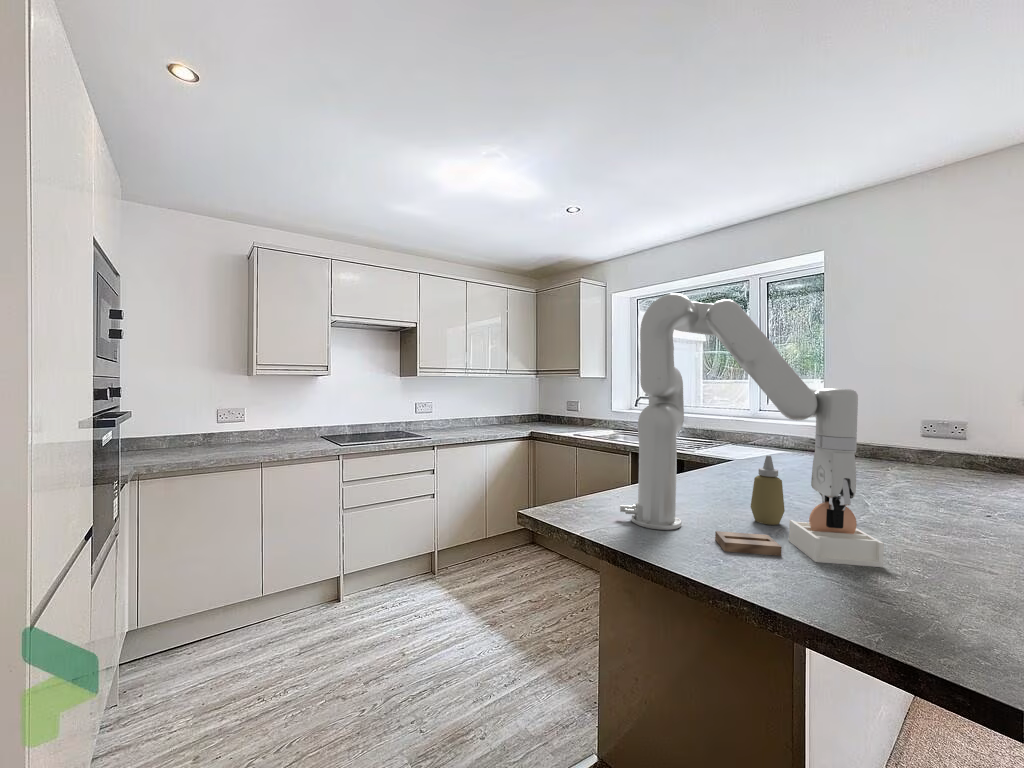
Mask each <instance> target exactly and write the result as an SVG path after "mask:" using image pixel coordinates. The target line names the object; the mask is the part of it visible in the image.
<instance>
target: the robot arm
mask: <svg viewBox="0 0 1024 768" xmlns="http://www.w3.org/2000/svg"><path fill="white" fill-rule="evenodd" d="M639 330H640V331H639V336H640V337H639V343H640V344H639V345H640V346H639V347H640V349H639V351H640V353H639V355H640V356H639V357H640V358H639V359H640V360H639V361H640V362H639V363H640V369H639V370H640V375H639V377H640V378H639V379H640V381H639V382H640V383H639V384H640V387H641V389H642V392H644V394H646V395H647V396H648V405H646V407H644V408H643V409H642V411H640V413H639V416H638V418H637V419H638V420H637V435H638V491H637V492H638V494H637V496H638V497H637V501H635V504H631V505H627V504H620V505H619V512H620V513H625V514H626V515H631V521H632V523H634V524H635V525H637V526H639V527H642V528H646V529H652V530H659V531H663V530H664V531H665V530H666V531H669V530H677V529H678V528H679V529H680V528H681V527H682V520H681V519H680V518H679V517H677V516H676V509H677V508H676V507H677V505H676V504H677V503H676V499H677V472H678V471H677V467H678V466H677V460H678V458H677V457H678V455H677V453H678V452H677V449H678V448H677V447H678V445H677V433H679V431H680V430H681V429H682V427H683V425H684V420H685V412H684V411H685V409H684V408H685V407H684V381H683V376H682V373H681V372H680V370H679V369H678V368H677V367H676V366H675V355H674V354H675V346H674V330H675V331H677V332H678V331H679V332H682V333H683V332H685V333H690V334H698V335H705V336H711V337H712V336H713V337H716V339H718V340H719V341H720V343H721V344H722V345H723V347H724V348H725V349H726V350H727V352H728V353H729V354H730V355H731V356H732V358H733V359H734V360H735V361H736V362H737V364H738V365H739V366H740V368H742V369H743V371H744V373H747V374H748V376H750V377H751V379H753V381H754V382H755V383H756V384H757V386H758V387H759V388H760V389H761V391H762V392H763V393H764V394H765V396H767V398H768V400H770V402H771V403H772V404H773V405H774V406H775V407H776V409H777V410H778V411H779V412H780V414H782V416H784V417H785V418H786V419H789V420H792V421H806V420H807V419H809V418H810V419H811V418H815V436H814V438H815V439H814V449H815V450H814V455H813V459H812V470H811V480H810V486H811V488H812V489H813V490H814V491H816V492H818V494H819V495H820V496H821V503H823V502H829V509H827V518H826V526H827V527H829V528H843V521H844V511H845V506H846V507H848V506H851V504H852V502H851V499H853V498H855V497H856V492H857V465H856V464H857V463H856V457H855V454H856V453H857V447H858V446H857V442H858V441H857V439H858V438H857V437H858V433H857V432H858V416H859V415H858V413H859V412H858V411H859V409H858V407H859V395H858V393H857V391H856V390H854V389H851V388H834V387H833V388H820V389H817V388H811V387H810V388H809V386H808V385H807V384H806V383H805V382H804V381H803V379H802V378H801V377H800V376H799V375H798V374H797V373H796V371H795V370H794V369H793V368H792V367H791V366H790V364H789V363H788V362H787V361H786V360H785V359H784V358H783V356H782V355H781V353H780V352H779V350H778V349H777V347H776V346H775V345H774V343H773V342H772V341H771V340H770V339H769V338H768V337H767V336H766V334H765V333H764V332H763V331H762V330H761V328H759V326H758V325H757V324H756V323H755V322H754V321H753V320H752V318H751V317H750V316H749V315H748V314H747V312H746V311H745V310H744V309H743V308H742V306H741V305H740V304H738V303H737V302H736V301H734V300H731V299H727V298H726V299H720V300H717V301H715V302H714V303H710V302H709V303H706V302H699V301H693V300H690V298H689V297H687V296H686V295H684V294H681V293H677V292H676V293H675V292H674V293H668V294H665V295H662V296H660V297H659V298H657V299H656V300H654V301H653V302H652V303H651V304H650V305H649V306H648V308H647V309H646V310H645V313H644V314H643V317H642V319H641V323H640V329H639Z"/></svg>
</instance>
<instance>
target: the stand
mask: <svg viewBox="0 0 1024 768" xmlns="http://www.w3.org/2000/svg"><path fill="white" fill-rule="evenodd" d="M714 531H715V533H714V539H715V541H716V543H717V544H718V545H719V546H720V547H721V549H722V550H723V551H724V552H729V553H740V554H753V555H754V554H755V555H768V556H779V557H782V549H783V548H782V545H781V544H779V543H778V542H777V541H776V540H774V538H772V537H771V536H770V535H769V534H760V533H747V532H746V533H745V532H744V533H743V532H732V531H721V530H720V531H717V530H714Z"/></svg>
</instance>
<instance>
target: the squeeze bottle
mask: <svg viewBox="0 0 1024 768" xmlns="http://www.w3.org/2000/svg"><path fill="white" fill-rule="evenodd" d="M783 486H784V485H783V480H782V479H781V478H780V477H779V470H778V469H776V468H774V463H773V458H772V455H766V456H765V459H764V462H763V466H762V467H760V468H758V475H756V476H755V477H754V479H753V487H752V494H751V500H750V501H751V502H750V510H751V512H752V516H753V519H754V521H755V522H757V523H760V524H763V525H770V526H772V525H773V526H776V525H780V523H781V521H782V519H783V517H784V516H783V515H784V514H785V502H784V500H785V499H784V488H783Z"/></svg>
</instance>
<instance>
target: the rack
mask: <svg viewBox="0 0 1024 768" xmlns="http://www.w3.org/2000/svg"><path fill="white" fill-rule="evenodd" d="M788 525H789V528H788V529H789V530H788V531H789V532H788V533H789V534H788V541H789V542H790V543H791V544H792V545H793V546H795V547H796V548H798V550H800V551H801V552H802V553H803V554H805V555H806V556H807V557H808V558H810V559H811V560H812V561H813V562H814V563H824V564H838V565H847V566H849V565H851V566H862V567H872V568H873V567H875V568H884V556H885V555H884V550H885V547H884V546H885V543H884V542H882V541H880V540H879V539H877V538H876V537H873V536H872V535H870V534H868V533H866V532H864V531H863V530H860V529H859V528H857V527H856V530H855V533H854V534H848V533H834V532H820V531H812V530H811V527H810V524H809V521H808V522H805V521H795V520H792V519H789V524H788Z"/></svg>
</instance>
